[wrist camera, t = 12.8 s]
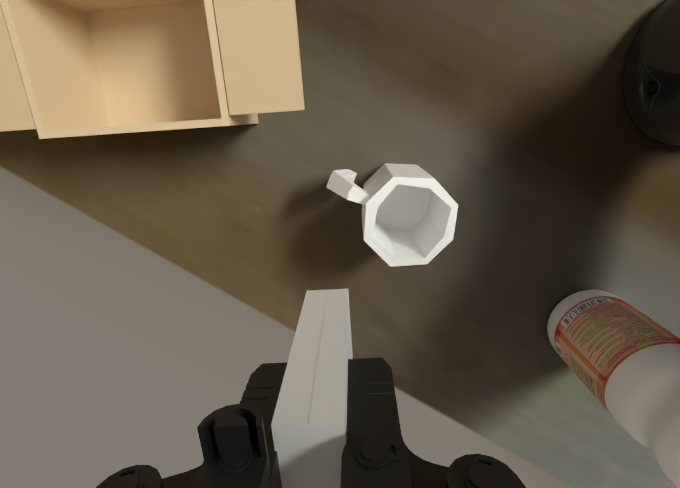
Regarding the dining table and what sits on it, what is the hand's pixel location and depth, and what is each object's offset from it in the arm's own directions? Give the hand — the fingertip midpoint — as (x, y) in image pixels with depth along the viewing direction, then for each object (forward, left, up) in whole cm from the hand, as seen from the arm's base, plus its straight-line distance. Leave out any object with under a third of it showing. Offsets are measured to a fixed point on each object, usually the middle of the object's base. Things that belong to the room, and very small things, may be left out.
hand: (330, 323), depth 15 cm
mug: (-1, +4, -31) cm, 31 cm away
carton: (-3, -21, -30) cm, 37 cm away
